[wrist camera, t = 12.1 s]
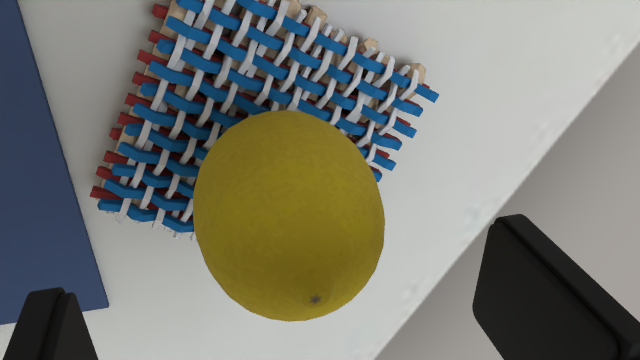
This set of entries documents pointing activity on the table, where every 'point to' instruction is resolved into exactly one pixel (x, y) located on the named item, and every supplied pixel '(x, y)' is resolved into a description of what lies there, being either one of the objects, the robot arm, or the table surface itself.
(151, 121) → the woven mat
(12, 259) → the cloth
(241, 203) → the lemon
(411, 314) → the table surface
